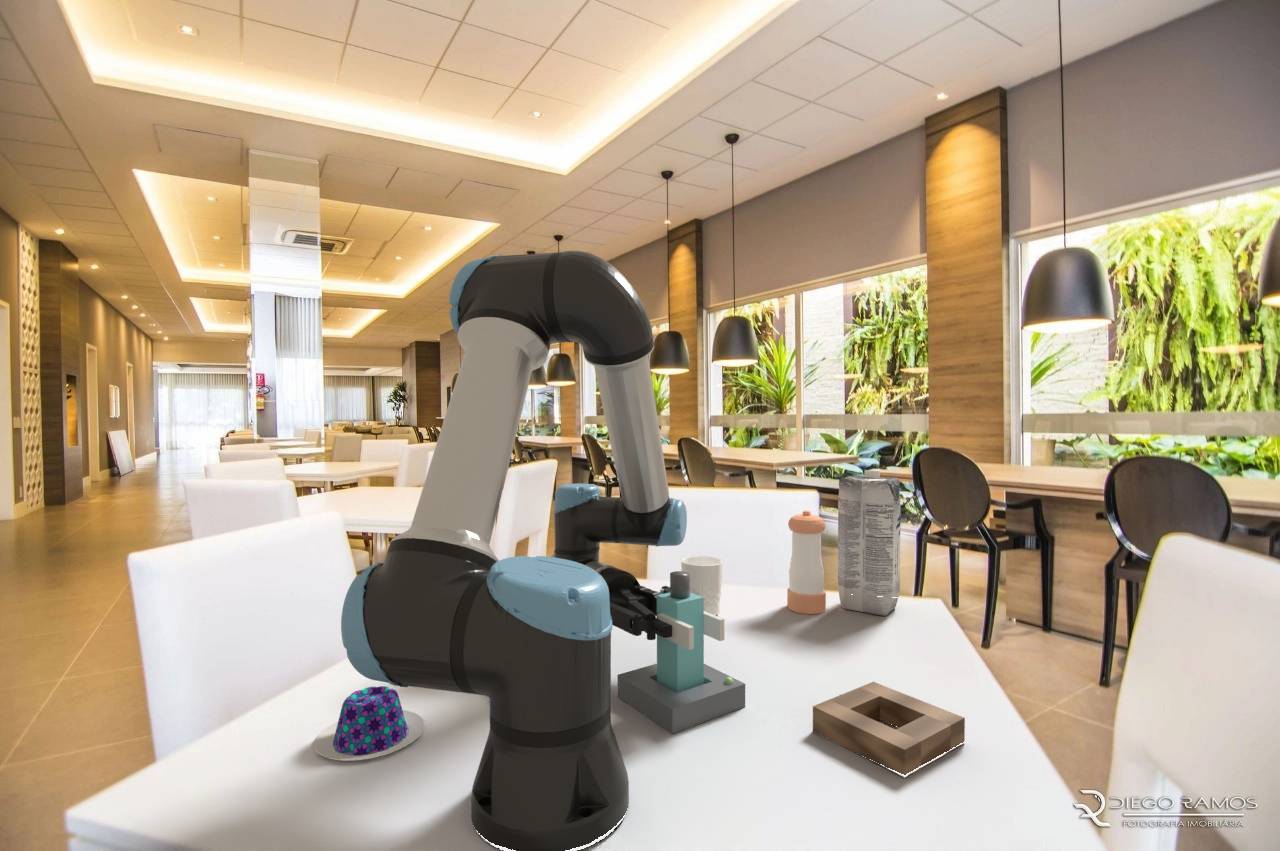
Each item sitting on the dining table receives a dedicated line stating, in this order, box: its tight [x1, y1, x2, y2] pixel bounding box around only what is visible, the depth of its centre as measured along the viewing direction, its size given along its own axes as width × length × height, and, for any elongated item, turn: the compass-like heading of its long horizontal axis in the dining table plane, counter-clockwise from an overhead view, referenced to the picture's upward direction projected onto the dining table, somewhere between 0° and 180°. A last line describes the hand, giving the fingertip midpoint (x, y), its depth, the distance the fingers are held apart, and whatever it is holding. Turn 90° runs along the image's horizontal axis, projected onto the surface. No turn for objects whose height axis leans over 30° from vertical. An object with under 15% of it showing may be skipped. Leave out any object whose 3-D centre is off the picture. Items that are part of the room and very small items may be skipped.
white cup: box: [680, 555, 723, 616], centre depth 121 cm, size 8×8×10 cm
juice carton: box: [837, 469, 901, 617], centre depth 123 cm, size 9×10×27 cm
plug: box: [656, 570, 705, 693], centre depth 83 cm, size 4×4×16 cm
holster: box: [812, 681, 966, 775], centre depth 74 cm, size 12×12×3 cm
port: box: [616, 663, 746, 734], centre depth 83 cm, size 12×12×4 cm
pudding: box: [313, 685, 426, 762], centre depth 74 cm, size 12×12×5 cm
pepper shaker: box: [786, 510, 827, 615], centre depth 123 cm, size 7×7×19 cm
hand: (706, 634), depth 79 cm, fingers closed on plug, 4 cm apart
